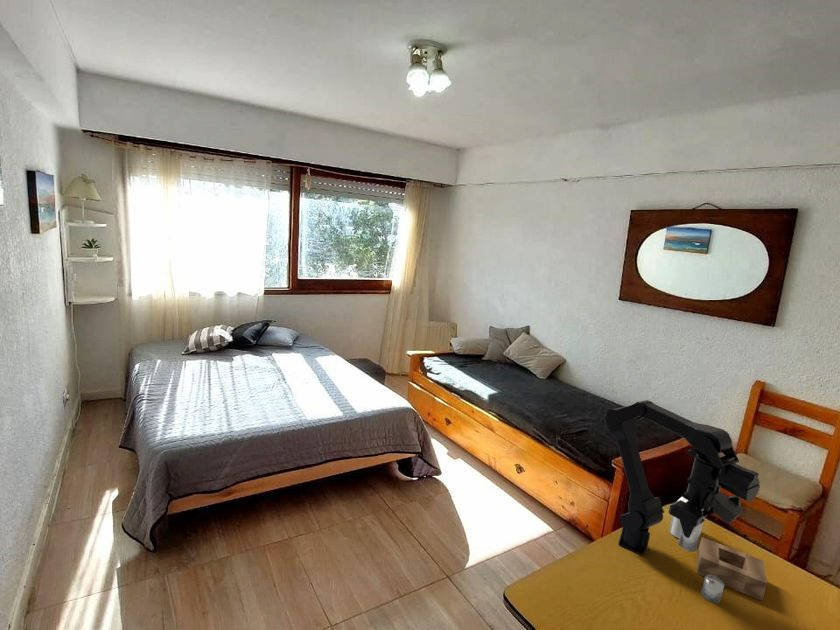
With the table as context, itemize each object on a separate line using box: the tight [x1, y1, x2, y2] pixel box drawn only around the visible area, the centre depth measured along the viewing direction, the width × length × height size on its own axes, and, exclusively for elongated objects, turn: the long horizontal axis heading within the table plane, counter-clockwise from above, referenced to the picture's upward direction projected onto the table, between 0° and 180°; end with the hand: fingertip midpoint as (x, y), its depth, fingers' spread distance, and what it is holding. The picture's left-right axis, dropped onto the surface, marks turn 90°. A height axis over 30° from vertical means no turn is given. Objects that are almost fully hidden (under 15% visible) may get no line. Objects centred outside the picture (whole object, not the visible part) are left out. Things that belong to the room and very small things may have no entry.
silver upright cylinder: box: [677, 516, 704, 553], centre depth 113 cm, size 4×4×9 cm
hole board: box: [696, 536, 768, 602], centre depth 119 cm, size 14×10×5 cm
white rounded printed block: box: [669, 495, 688, 539], centre depth 134 cm, size 10×4×12 cm, turn 123°
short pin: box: [700, 575, 725, 604], centre depth 111 cm, size 4×4×4 cm
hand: (690, 534), depth 113 cm, fingers closed on silver upright cylinder, 4 cm apart
